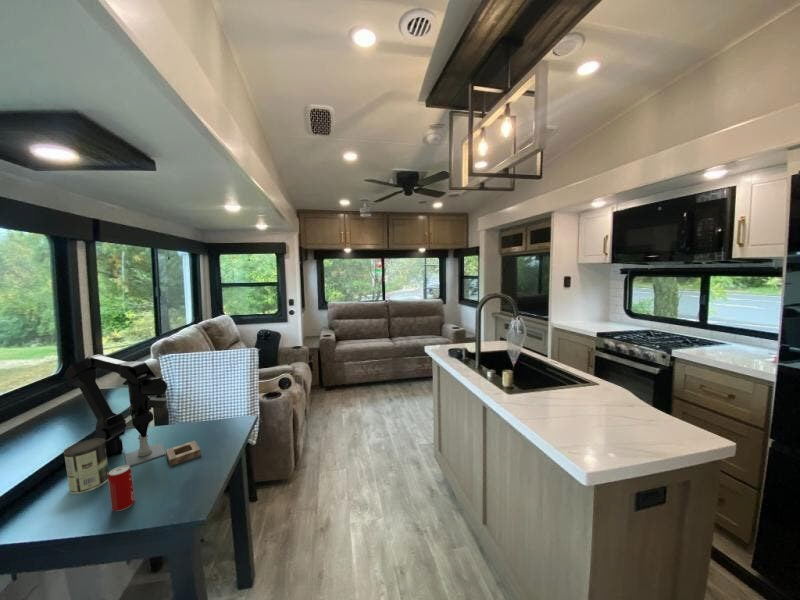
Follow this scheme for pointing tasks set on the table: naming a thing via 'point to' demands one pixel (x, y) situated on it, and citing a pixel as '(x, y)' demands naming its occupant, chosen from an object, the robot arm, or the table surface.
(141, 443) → the rook chess piece
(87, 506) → the table surface
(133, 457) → the grey mat
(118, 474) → the soda can
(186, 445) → the brown wooden frame
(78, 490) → the coffee can
